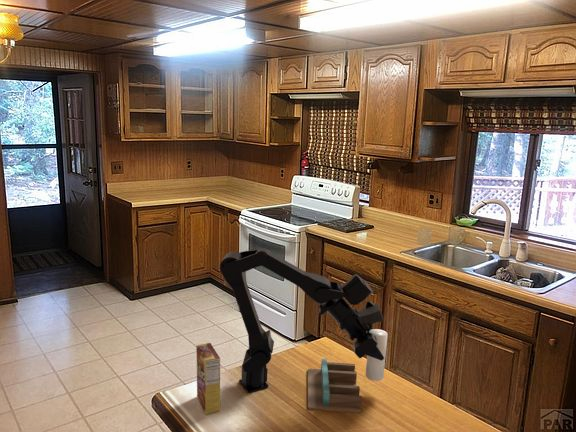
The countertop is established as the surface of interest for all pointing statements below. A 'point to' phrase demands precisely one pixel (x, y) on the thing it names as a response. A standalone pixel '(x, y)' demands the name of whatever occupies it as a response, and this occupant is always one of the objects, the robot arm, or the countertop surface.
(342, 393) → the comb rack
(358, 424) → the countertop surface
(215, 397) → the candy box
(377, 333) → the white cylinder
